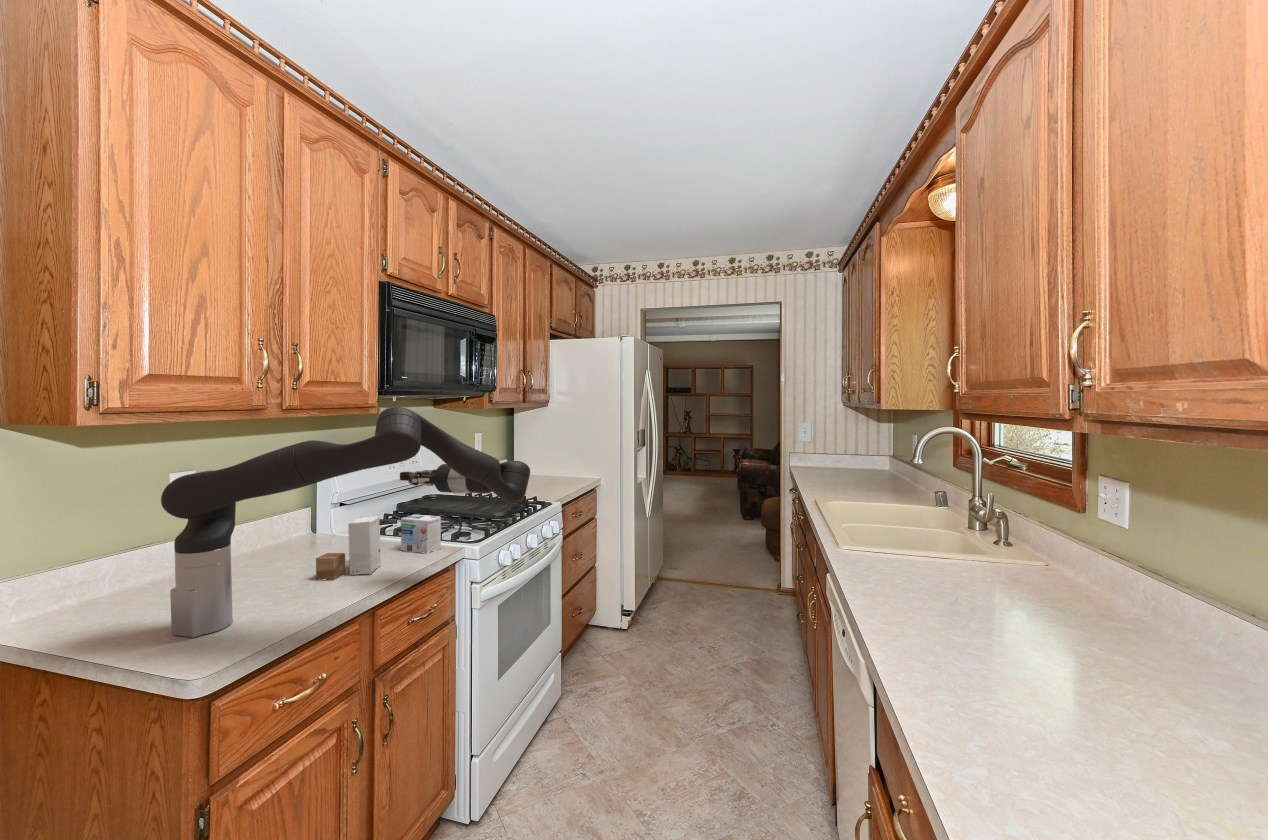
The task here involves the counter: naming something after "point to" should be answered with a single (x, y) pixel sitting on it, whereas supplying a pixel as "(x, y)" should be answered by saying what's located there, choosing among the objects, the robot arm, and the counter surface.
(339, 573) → the walnut block
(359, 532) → the skincare box
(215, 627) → the robot arm
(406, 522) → the light bulb box
